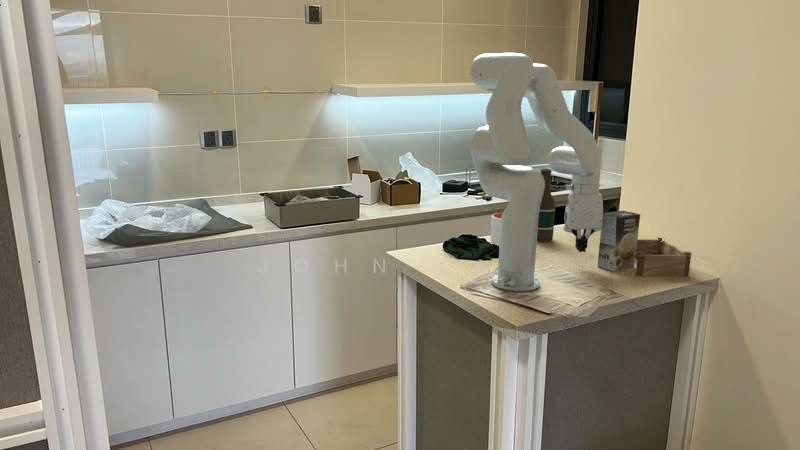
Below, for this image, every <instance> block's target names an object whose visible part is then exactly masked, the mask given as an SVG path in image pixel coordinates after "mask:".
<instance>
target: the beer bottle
mask: <svg viewBox="0 0 800 450" xmlns="http://www.w3.org/2000/svg"><path fill="white" fill-rule="evenodd" d="M539 172H540V173H541V174H542V175H543V177H544V181H545V188H544V193H543V196H542V200H541V204H540V209H539V216H538V230H537V241H538V242H537V243H549V242H548V241H550V242H552V241H553V239H554V238H553V237H554V230H555V229H554V228H555V216H556V215H555V214H556V202H555V198H554V196H553V195H552V193H551V191H552V190H551V186H552V184H551V176H552V175H551V174H552V169H551V168H550V169H549V168H542V169H540V170H539ZM551 240H552V241H551Z"/></svg>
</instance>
